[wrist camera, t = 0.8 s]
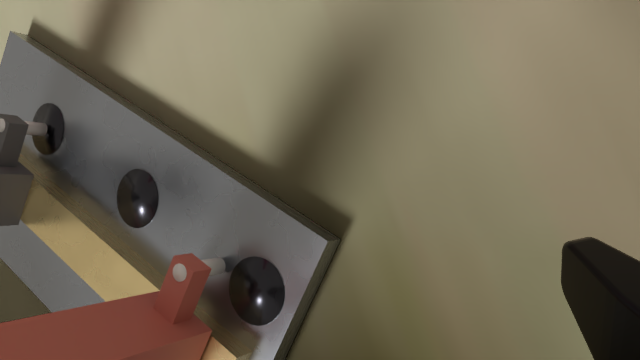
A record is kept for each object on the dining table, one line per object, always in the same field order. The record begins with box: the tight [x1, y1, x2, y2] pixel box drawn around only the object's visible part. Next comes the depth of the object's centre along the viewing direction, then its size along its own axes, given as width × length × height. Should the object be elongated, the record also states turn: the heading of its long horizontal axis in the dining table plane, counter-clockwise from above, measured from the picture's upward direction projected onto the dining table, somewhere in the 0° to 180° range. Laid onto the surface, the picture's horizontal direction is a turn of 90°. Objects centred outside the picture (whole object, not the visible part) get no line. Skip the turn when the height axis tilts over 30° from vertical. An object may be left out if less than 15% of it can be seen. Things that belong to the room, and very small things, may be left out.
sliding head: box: [0, 253, 226, 360], centre depth 18 cm, size 3×5×14 cm, turn 153°
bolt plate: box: [0, 31, 341, 360], centre depth 28 cm, size 24×12×2 cm, turn 63°
